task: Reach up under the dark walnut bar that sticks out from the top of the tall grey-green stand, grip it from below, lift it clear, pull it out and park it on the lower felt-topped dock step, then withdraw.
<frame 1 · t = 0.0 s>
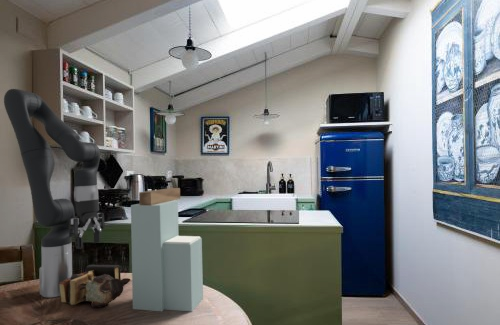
hand: (88, 245, 109), 17 cm above the table, tool pointing down, fingers open, 8 cm apart
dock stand: (157, 301, 101), on the table
walnut bar: (161, 201, 106), point 32 cm above the table, touching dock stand
bookend: (101, 302, 103), on the table
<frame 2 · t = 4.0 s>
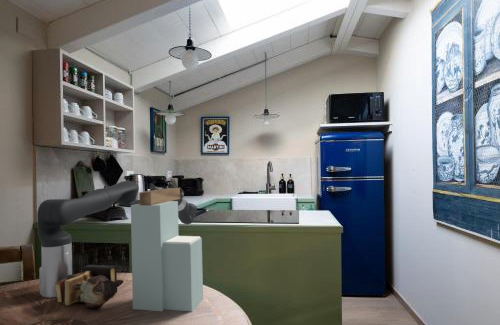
hand: (159, 184, 130), 37 cm above the table, tool pointing upward, fingers open, 8 cm apart
bookend: (96, 302, 102), on the table
everything else where it was.
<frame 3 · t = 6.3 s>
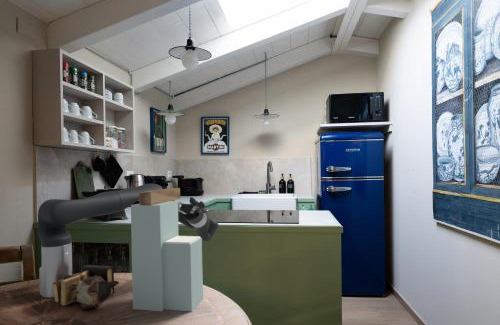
hand: (180, 199, 118), 31 cm above the table, tool pointing upward, fingers open, 8 cm apart
bookend: (93, 303, 102), on the table
everything else where it was.
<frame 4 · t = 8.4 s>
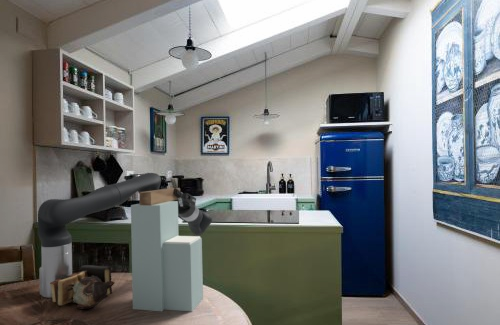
hand: (168, 190, 111), 35 cm above the table, tool pointing upward, fingers closed on walnut bar, 4 cm apart
walnut bar: (161, 201, 106), point 32 cm above the table, touching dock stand, gripper
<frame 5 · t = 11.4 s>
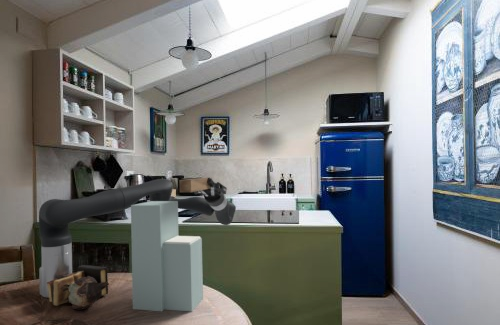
hand: (202, 179, 116), 39 cm above the table, tool pointing upward, fingers closed on walnut bar, 4 cm apart
walnut bar: (197, 190, 111), point 35 cm above the table, touching gripper
bookend: (85, 304, 102), on the table
when the fingers open (27 cm above the table, at t = 14.2 s): walnut bar drops 3 cm, resting on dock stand.
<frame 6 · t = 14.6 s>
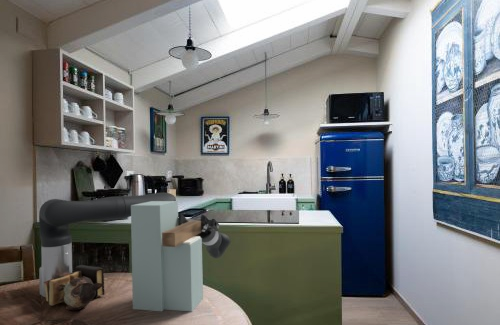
hand: (191, 217, 105), 27 cm above the table, tool pointing upward, fingers open, 7 cm apart
walnut bar: (183, 238, 100), point 21 cm above the table, touching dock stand
bookend: (81, 304, 101), on the table
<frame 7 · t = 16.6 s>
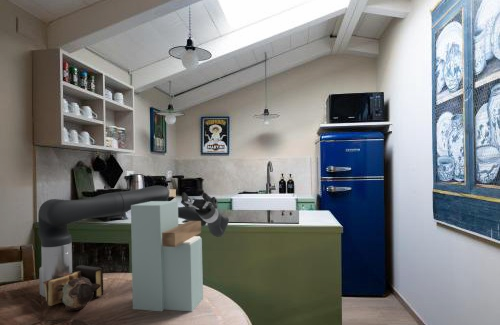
hand: (193, 194, 120), 33 cm above the table, tool pointing upward, fingers open, 8 cm apart
nothing on the table moved.
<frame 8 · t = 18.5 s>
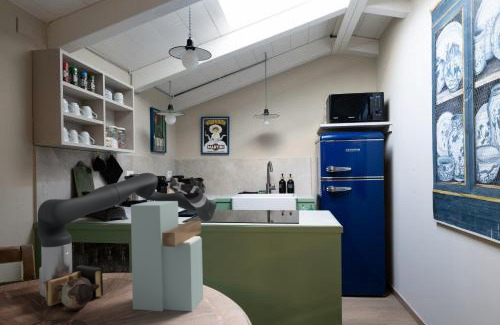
hand: (181, 179, 125), 39 cm above the table, tool pointing upward, fingers open, 8 cm apart
bookend: (79, 305, 101), on the table, touching arm
everything else where it was.
at the end: walnut bar inside the target area on the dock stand (0.3 cm from its centre), point 20.6 cm above the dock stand's base; the gripper is holding nothing; walnut bar moved 15.4 cm from its start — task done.
